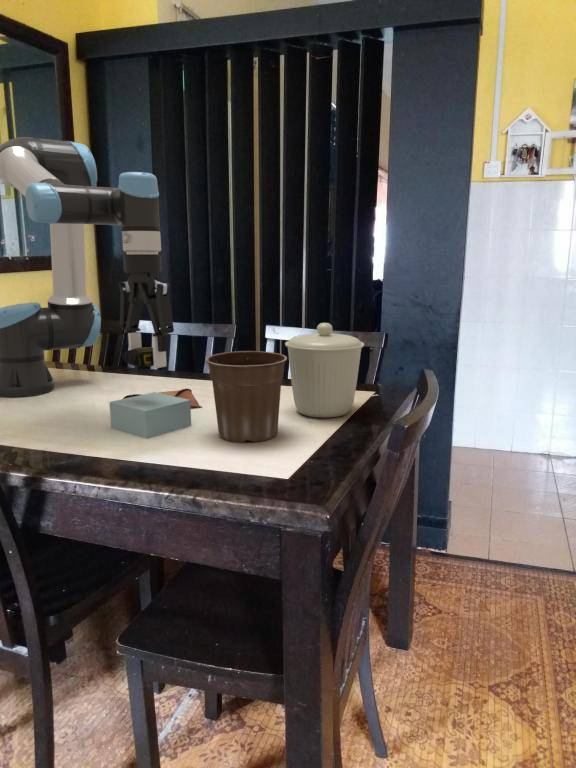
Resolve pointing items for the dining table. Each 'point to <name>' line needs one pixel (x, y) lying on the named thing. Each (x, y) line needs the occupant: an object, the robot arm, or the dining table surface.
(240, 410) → the plant pot
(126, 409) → the painted block
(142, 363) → the tape measure
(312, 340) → the canister
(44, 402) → the dining table surface
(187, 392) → the sunglasses case
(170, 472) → the dining table surface
